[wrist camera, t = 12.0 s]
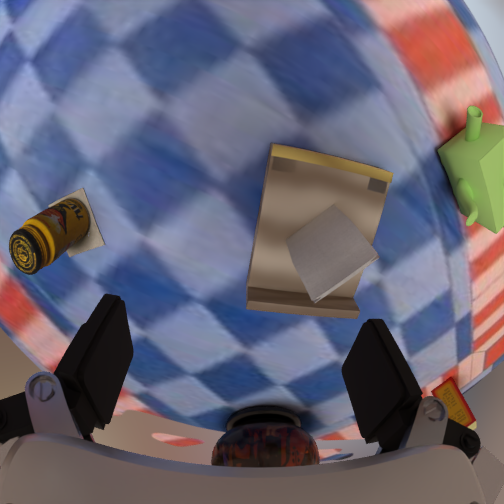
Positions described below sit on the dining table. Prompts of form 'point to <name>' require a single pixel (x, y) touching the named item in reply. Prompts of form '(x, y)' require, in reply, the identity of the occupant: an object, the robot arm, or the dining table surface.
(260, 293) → the dock
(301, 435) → the amphora vase
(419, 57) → the dining table surface
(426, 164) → the dining table surface
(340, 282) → the small white carton
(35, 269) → the condiment
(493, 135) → the kettle
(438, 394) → the baking soda box
